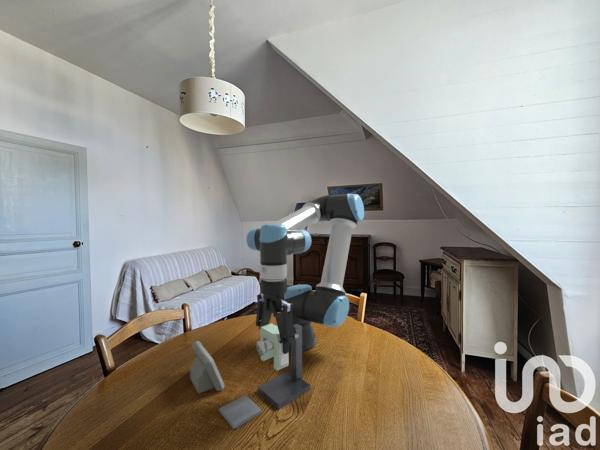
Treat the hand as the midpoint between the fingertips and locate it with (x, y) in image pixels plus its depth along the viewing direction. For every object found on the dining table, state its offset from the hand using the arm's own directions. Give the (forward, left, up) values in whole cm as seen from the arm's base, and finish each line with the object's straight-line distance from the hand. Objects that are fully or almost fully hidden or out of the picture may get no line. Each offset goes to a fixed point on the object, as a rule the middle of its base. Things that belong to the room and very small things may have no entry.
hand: (274, 357), depth 76 cm
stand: (0, +2, -11) cm, 12 cm away
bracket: (0, 0, -1) cm, 1 cm away
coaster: (-1, -11, -11) cm, 15 cm away
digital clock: (-20, -11, -12) cm, 26 cm away
